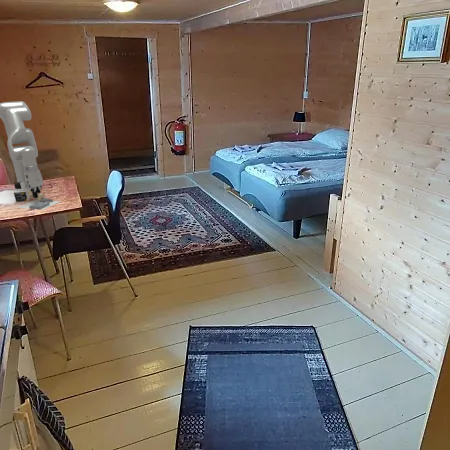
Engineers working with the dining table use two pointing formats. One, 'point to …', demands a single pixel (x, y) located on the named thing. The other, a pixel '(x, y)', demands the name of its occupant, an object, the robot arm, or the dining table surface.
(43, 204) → the tile
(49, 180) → the dining table surface
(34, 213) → the dining table surface
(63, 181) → the dining table surface
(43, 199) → the turner
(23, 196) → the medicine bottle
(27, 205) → the mat
